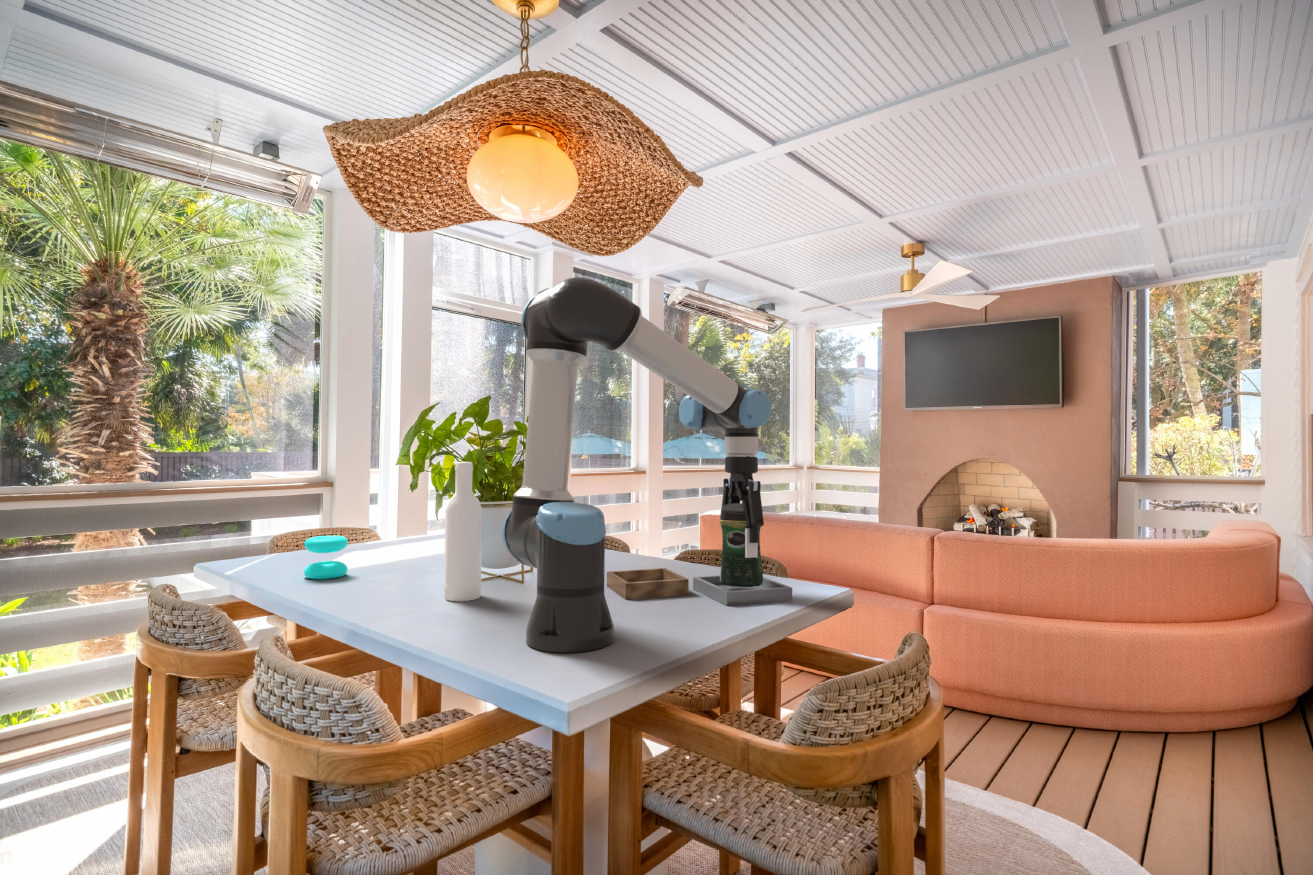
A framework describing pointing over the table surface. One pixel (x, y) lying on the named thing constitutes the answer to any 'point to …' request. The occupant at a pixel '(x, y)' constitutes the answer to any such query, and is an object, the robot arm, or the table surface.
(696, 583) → the slate tray
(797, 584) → the table surface
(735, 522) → the coffee jar
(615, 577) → the walnut frame
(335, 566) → the pair of cyan pebbles
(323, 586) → the table surface
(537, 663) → the table surface
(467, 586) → the bottle
